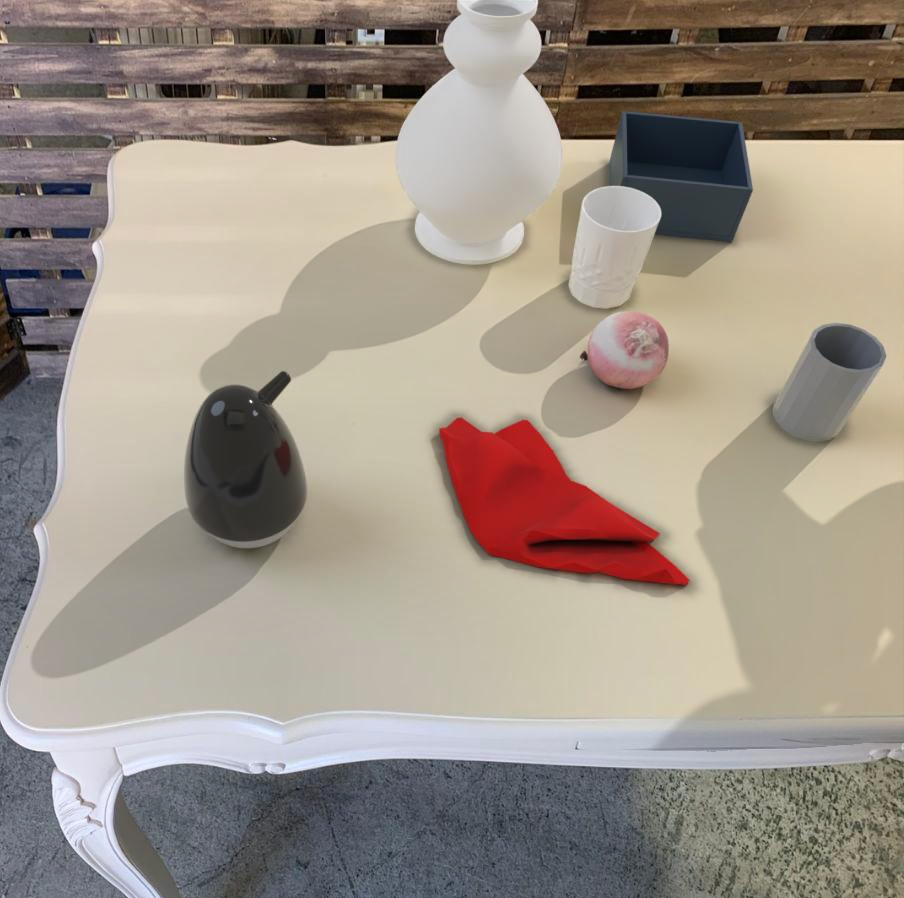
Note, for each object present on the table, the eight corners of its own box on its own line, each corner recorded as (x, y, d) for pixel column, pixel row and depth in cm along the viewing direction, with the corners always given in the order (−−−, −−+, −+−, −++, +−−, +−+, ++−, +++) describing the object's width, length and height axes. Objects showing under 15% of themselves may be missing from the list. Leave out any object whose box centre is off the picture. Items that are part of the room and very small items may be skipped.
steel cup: (835, 398, 88) (879, 327, 81) (845, 446, 85) (891, 376, 78) (769, 390, 89) (806, 319, 82) (776, 437, 85) (815, 367, 78)
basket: (723, 174, 111) (742, 122, 106) (731, 243, 103) (753, 189, 98) (608, 163, 112) (622, 110, 107) (608, 230, 104) (622, 176, 99)
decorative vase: (534, 185, 109) (575, -43, 89) (557, 279, 99) (611, 44, 79) (388, 187, 109) (396, -43, 89) (396, 281, 98) (408, 45, 78)
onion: (595, 407, 87) (612, 351, 82) (567, 354, 92) (581, 297, 86) (671, 394, 89) (693, 338, 83) (639, 342, 93) (659, 286, 87)
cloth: (390, 455, 83) (390, 439, 82) (501, 394, 88) (504, 377, 86) (586, 657, 71) (593, 643, 69) (704, 573, 76) (712, 558, 74)
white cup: (592, 257, 101) (613, 176, 93) (650, 290, 98) (677, 209, 90) (548, 288, 98) (566, 207, 90) (607, 323, 95) (630, 242, 87)
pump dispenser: (334, 522, 79) (331, 398, 66) (239, 587, 75) (217, 468, 62) (263, 456, 83) (247, 328, 71) (169, 514, 79) (136, 389, 67)
